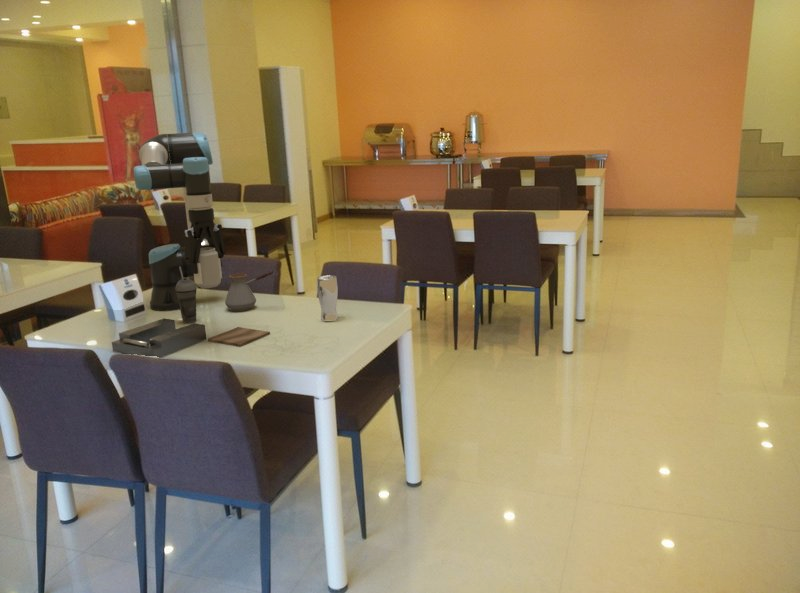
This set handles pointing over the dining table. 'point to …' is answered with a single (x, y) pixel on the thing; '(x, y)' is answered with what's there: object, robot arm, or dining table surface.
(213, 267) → the can
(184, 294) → the beverage cup
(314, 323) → the dining table surface
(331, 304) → the beer glass
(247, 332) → the walnut board
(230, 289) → the coffee pot
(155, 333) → the grey stepped tray
